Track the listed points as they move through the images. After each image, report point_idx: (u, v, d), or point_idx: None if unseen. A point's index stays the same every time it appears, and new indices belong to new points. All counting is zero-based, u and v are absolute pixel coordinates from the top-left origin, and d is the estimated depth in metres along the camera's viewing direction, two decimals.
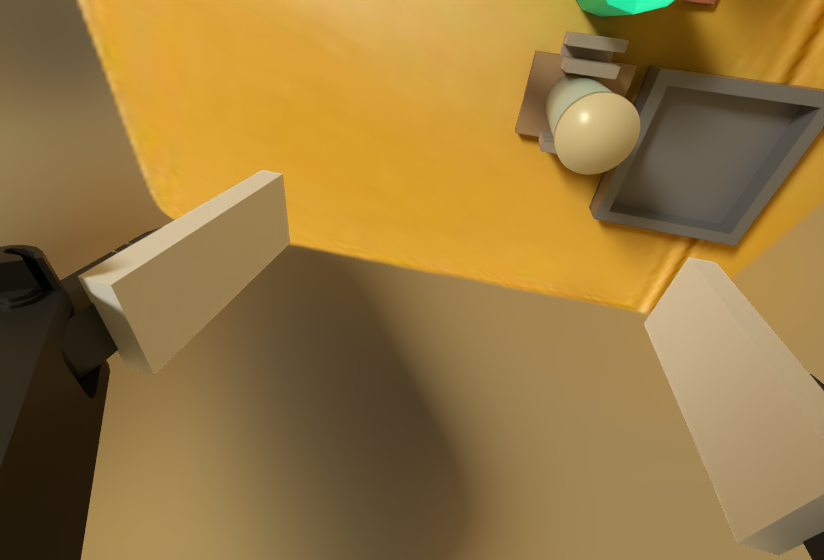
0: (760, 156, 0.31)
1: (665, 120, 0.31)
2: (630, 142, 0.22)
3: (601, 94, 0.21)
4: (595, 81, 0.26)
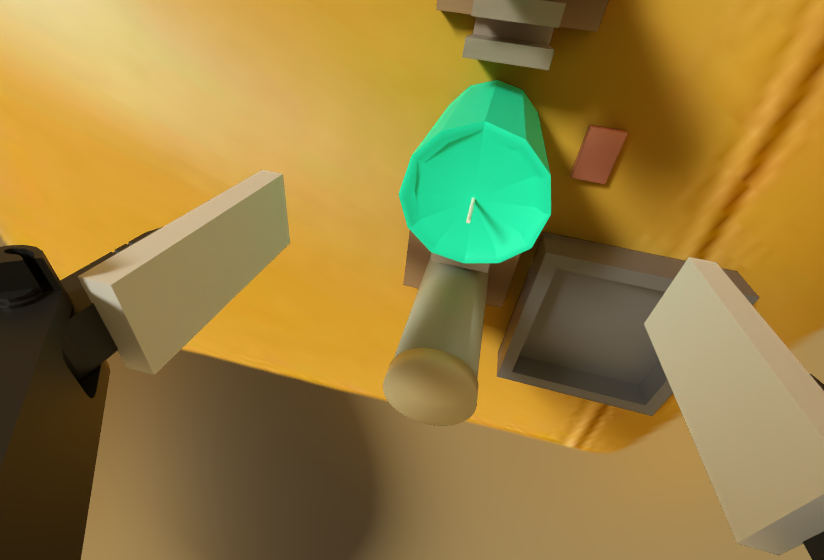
0: None
1: (565, 288, 0.27)
2: (469, 407, 0.17)
3: (423, 363, 0.16)
4: (460, 279, 0.22)
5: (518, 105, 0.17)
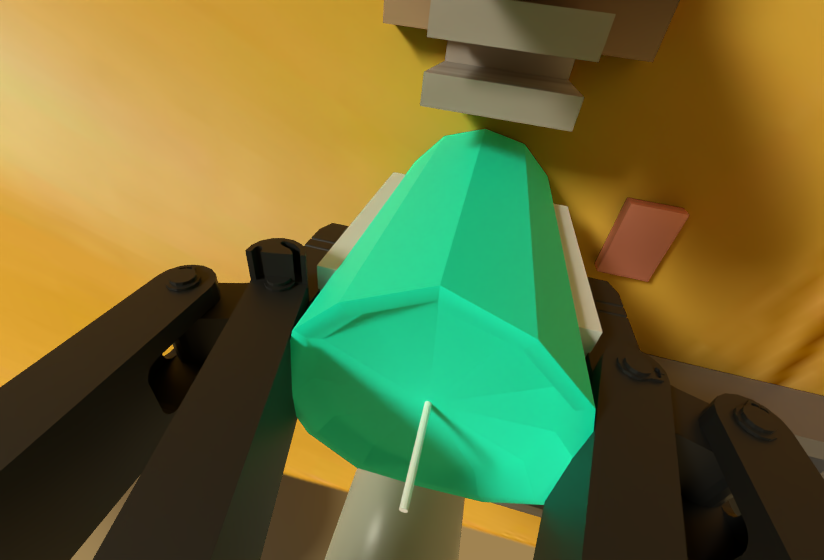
0: None
1: None
2: None
3: None
4: None
5: (518, 191, 0.09)
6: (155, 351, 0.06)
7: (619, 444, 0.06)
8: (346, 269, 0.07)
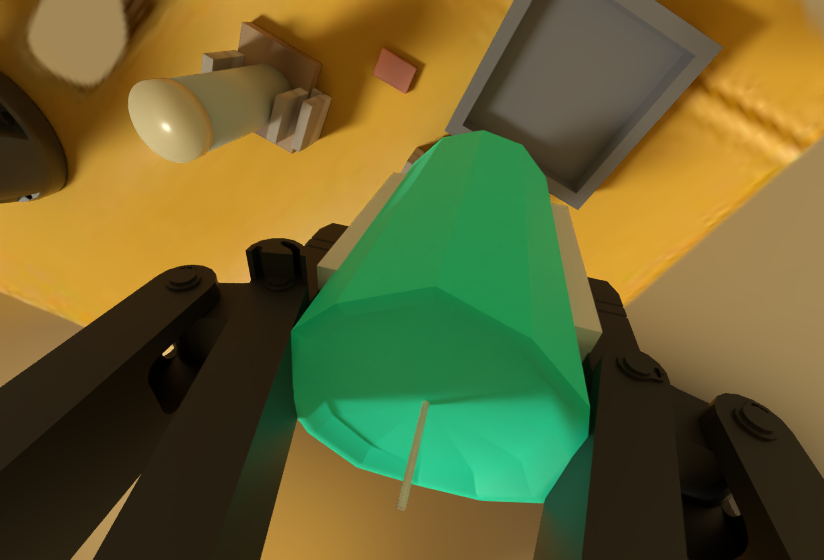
0: (600, 8, 0.24)
1: (505, 116, 0.29)
2: None
3: None
4: None
5: (515, 192, 0.10)
6: (155, 351, 0.06)
7: (619, 444, 0.06)
8: (344, 270, 0.07)
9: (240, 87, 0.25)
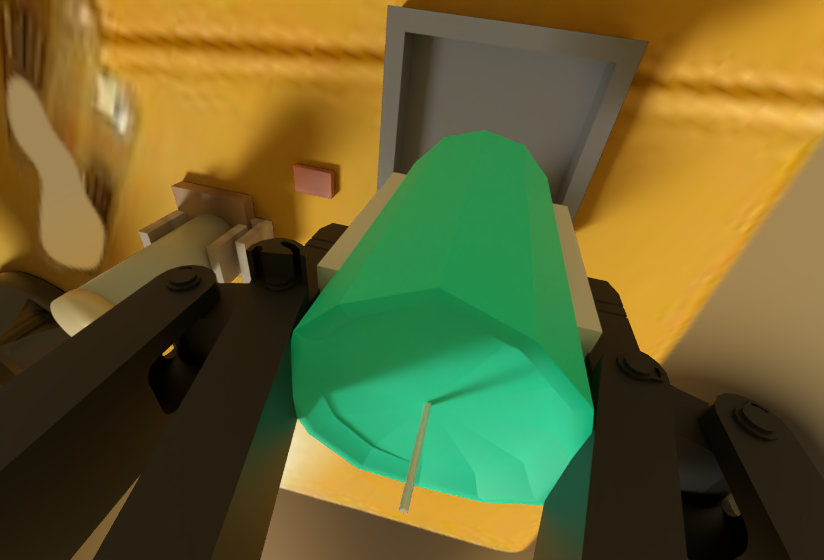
0: (486, 52, 0.20)
1: None
2: None
3: None
4: None
5: (517, 192, 0.09)
6: (155, 351, 0.06)
7: (619, 444, 0.06)
8: (346, 271, 0.07)
9: (162, 259, 0.25)
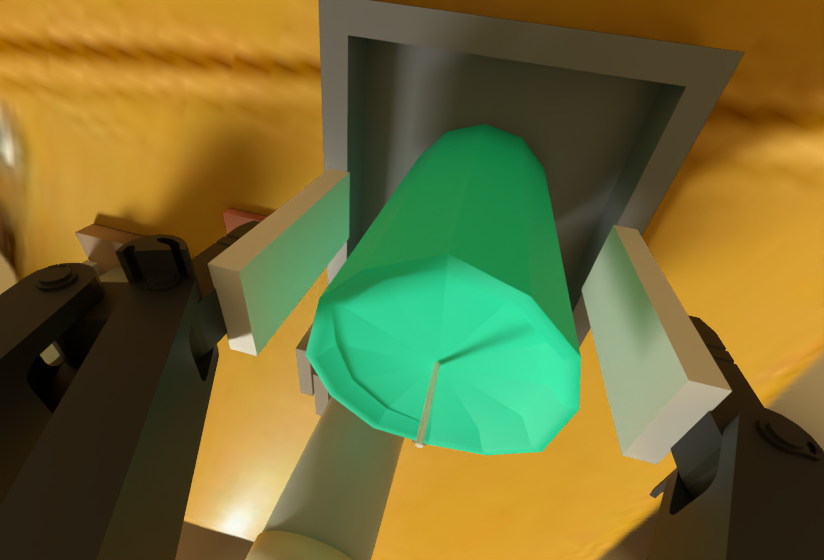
0: (476, 65, 0.13)
1: None
2: None
3: None
4: (324, 410, 0.19)
5: (515, 179, 0.10)
6: (31, 352, 0.06)
7: (763, 521, 0.05)
8: (364, 247, 0.08)
9: None
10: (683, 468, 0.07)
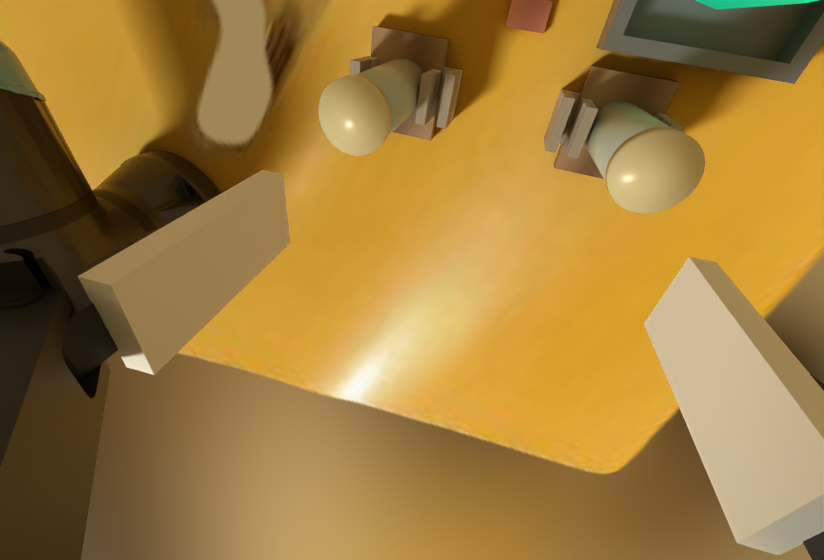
0: None
1: (668, 11, 0.25)
2: (677, 139, 0.19)
3: (610, 172, 0.21)
4: (597, 131, 0.26)
5: None
6: None
7: None
8: None
9: (397, 76, 0.26)
10: None
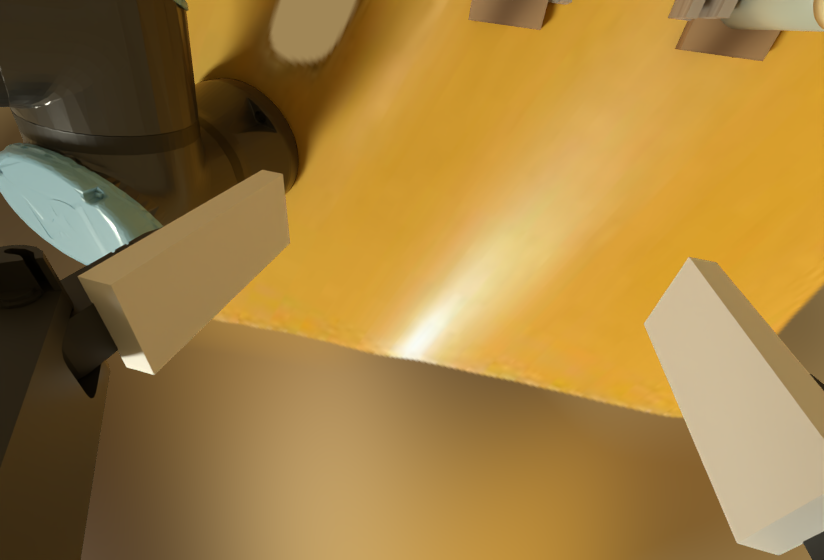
0: None
1: None
2: None
3: None
4: None
5: None
6: None
7: None
8: None
9: None
10: None
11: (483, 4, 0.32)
